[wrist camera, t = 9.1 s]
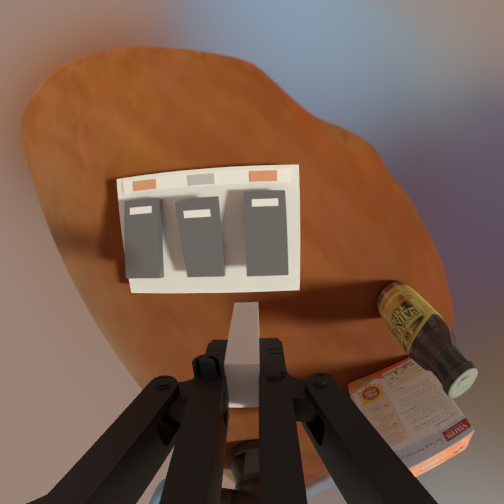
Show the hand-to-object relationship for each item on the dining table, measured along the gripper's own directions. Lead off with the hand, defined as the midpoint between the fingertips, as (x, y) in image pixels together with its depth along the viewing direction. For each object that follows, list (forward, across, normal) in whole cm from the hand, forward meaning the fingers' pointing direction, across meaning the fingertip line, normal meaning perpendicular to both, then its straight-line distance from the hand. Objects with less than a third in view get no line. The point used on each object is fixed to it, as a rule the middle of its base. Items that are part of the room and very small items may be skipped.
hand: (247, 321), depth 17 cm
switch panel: (+19, +5, -3) cm, 20 cm away
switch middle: (+14, +5, -3) cm, 15 cm away
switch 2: (+14, -2, -3) cm, 15 cm away
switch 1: (+14, +12, -3) cm, 19 cm away
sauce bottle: (+19, -21, +8) cm, 29 cm away
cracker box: (+19, -23, +24) cm, 38 cm away
